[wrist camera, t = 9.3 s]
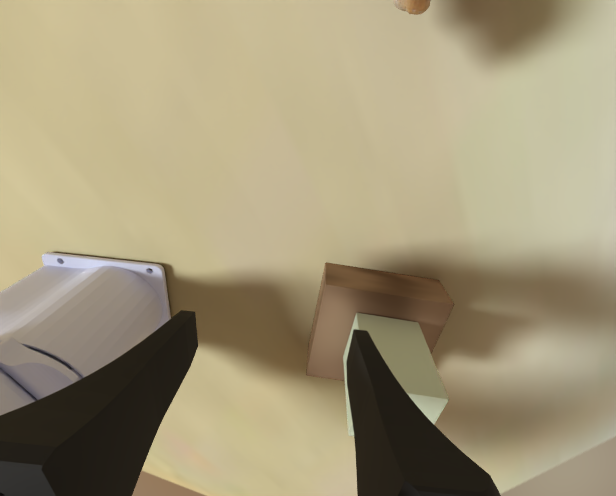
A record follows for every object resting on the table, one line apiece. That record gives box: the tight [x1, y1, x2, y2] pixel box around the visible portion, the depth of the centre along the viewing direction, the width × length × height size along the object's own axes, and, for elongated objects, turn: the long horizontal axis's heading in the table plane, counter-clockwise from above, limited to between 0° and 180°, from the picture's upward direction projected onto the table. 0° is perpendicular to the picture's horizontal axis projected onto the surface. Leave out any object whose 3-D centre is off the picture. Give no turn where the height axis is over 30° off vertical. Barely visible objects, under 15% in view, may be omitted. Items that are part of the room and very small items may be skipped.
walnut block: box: [306, 263, 454, 381], centre depth 24 cm, size 9×9×4 cm
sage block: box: [343, 313, 449, 436], centre depth 20 cm, size 4×4×6 cm
